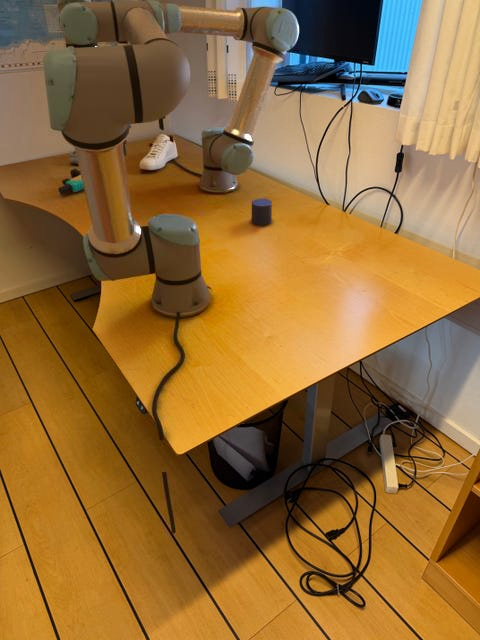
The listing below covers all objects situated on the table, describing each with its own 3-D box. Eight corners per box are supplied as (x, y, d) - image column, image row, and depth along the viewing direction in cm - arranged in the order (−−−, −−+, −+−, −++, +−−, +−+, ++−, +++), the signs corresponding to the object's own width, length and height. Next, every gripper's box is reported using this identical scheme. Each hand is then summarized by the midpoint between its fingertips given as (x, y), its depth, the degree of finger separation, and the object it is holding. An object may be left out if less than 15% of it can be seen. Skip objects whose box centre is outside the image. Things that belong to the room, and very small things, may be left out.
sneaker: (133, 173, 208) (129, 144, 201) (161, 153, 230) (158, 127, 223) (155, 175, 205) (151, 146, 198) (180, 155, 227) (178, 129, 220)
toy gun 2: (37, 182, 187) (65, 188, 181) (83, 164, 205) (110, 169, 200) (39, 193, 189) (67, 200, 184) (85, 174, 208) (111, 179, 202)
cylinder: (264, 216, 170) (264, 196, 165) (275, 223, 165) (276, 203, 161) (247, 220, 167) (247, 201, 163) (258, 227, 162) (258, 207, 158)
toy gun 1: (116, 157, 226) (102, 168, 214) (79, 155, 229) (64, 165, 217) (114, 149, 224) (100, 159, 212) (78, 147, 227) (62, 157, 215)
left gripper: (137, 66, 115) (148, 155, 128) (56, 61, 124) (74, 145, 136) (118, 71, 110) (132, 163, 122) (35, 66, 118) (56, 152, 130)
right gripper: (93, 63, 136) (106, 139, 149) (175, 57, 145) (181, 129, 157) (88, 60, 142) (101, 133, 154) (167, 54, 150) (174, 124, 163)
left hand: (101, 154), depth 129 cm, fingers open, 13 cm apart
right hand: (141, 131), depth 156 cm, fingers open, 13 cm apart
